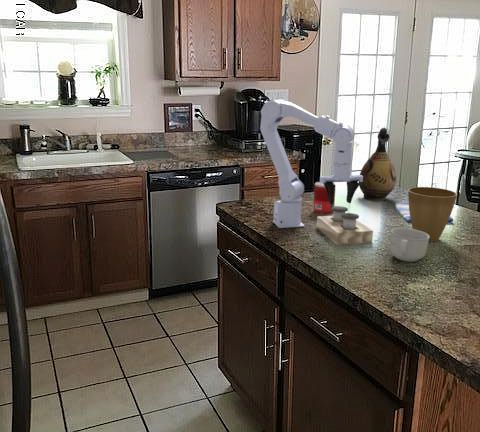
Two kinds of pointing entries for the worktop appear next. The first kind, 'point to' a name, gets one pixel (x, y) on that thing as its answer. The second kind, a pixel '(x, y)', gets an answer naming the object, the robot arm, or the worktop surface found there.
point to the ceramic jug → (378, 172)
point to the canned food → (322, 199)
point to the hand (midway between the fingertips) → (339, 202)
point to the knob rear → (338, 213)
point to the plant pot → (430, 209)
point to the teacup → (408, 244)
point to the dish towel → (404, 211)
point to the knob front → (349, 221)
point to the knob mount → (344, 231)
